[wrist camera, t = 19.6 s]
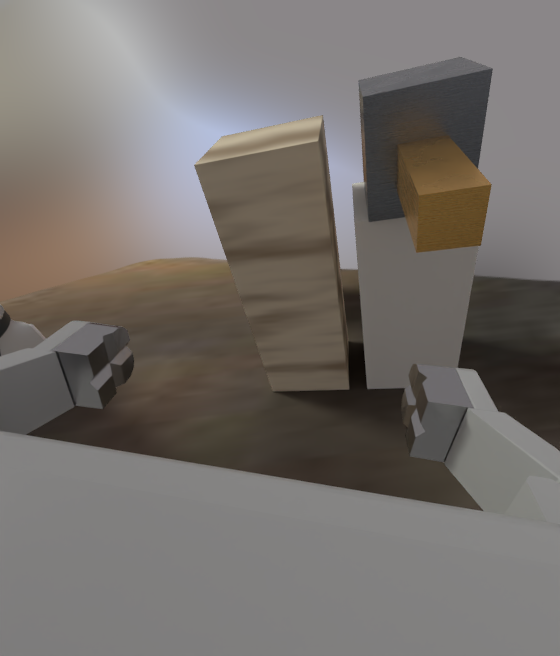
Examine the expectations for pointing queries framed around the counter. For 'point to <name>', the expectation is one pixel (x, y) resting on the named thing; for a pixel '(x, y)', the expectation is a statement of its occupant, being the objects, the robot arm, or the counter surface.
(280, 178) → the tall pedestal
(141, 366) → the counter surface
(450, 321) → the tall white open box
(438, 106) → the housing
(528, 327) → the counter surface
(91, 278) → the counter surface
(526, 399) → the counter surface
